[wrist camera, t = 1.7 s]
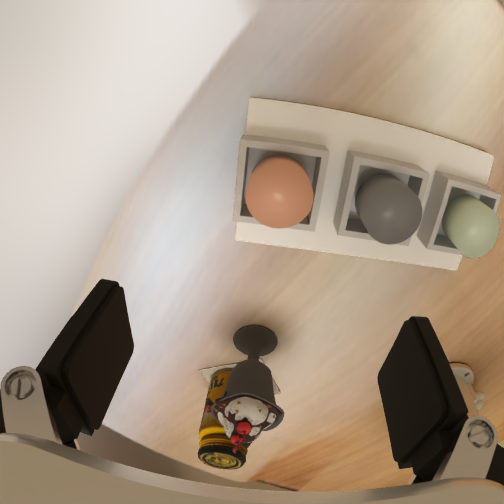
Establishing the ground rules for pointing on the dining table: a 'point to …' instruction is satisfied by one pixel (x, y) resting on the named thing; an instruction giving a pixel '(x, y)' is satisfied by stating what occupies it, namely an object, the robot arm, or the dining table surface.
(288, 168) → the terracotta button
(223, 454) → the condiment
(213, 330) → the dining table surface
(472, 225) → the sage button
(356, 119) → the panel
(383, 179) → the charcoal button
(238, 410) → the sundae
